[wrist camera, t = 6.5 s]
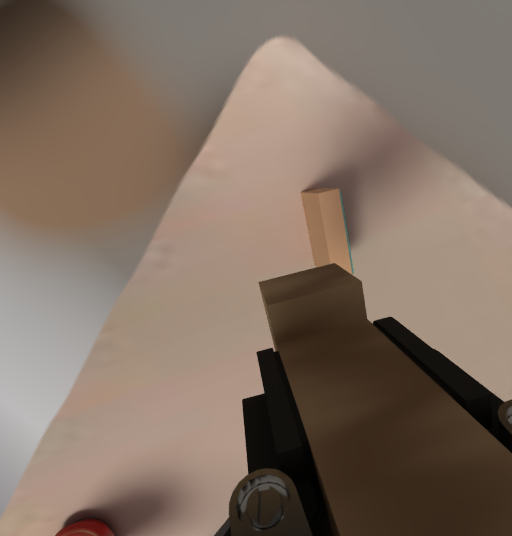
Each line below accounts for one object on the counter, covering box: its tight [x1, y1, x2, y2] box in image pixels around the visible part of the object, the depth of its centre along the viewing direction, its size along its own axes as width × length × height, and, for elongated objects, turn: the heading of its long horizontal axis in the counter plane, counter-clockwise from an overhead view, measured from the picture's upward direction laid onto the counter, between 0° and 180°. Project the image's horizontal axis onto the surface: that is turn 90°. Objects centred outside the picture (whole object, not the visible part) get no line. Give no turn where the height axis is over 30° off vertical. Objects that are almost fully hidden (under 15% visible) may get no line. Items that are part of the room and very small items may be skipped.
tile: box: [301, 188, 354, 274], centre depth 26 cm, size 2×7×6 cm, turn 13°
